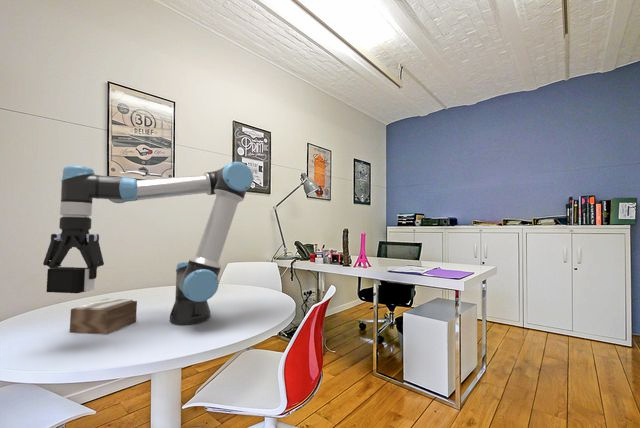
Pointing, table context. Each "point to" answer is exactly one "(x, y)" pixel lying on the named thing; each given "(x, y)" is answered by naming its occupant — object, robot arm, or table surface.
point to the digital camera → (66, 280)
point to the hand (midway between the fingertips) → (72, 289)
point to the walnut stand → (103, 316)
